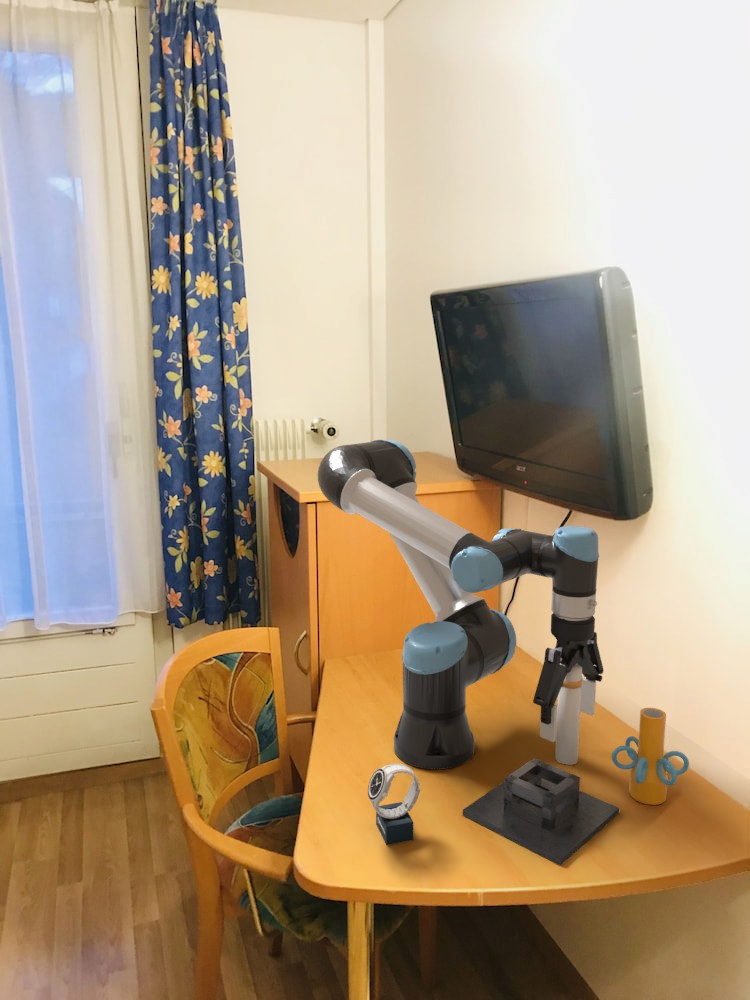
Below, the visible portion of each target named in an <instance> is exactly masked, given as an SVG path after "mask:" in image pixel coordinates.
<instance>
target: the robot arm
mask: <svg viewBox="0 0 750 1000" xmlns="http://www.w3.org/2000/svg"><path fill="white" fill-rule="evenodd" d="M416 469H417V464H416V461H415V458H414V456H413V454H412V452H411V451H410V450H409V449H408V448H407V447H406V446H405V445H404V444H402V443H400V442H398V441H396V440H392V439H391V440H390V439H386V440H385V439H377V440H376V439H375V440H371V441H370V442H369V441H368V442H359V443H353V444H351V443H350V444H344V445H339V446H336V447H334V448H332V449H331V450H329V451H328V452H327V453H326V454H325V455H324V457H323V458H322V460H321V461H320V462H319V466H318V470H317V482H318V486H319V489H320V491H321V492H322V494H323V496H324V497H325V498H326V499H327V501H328V502H330V504H332V505H334V506H335V507H336V508H337V509H339V510H341V511H343V512H344V513H346V514H348V515H355V514H358V515H360V516H361V517H363V518H364V519H366V520H368V521H369V522H371V523H372V524H374V525H376V526H378V527H380V528H381V529H383V530H384V531H386V532H388V533H389V535H390V536H391V539H392V541H393V543H394V545H395V546H396V548H397V549H398V552H399V553H400V555H401V556H402V559H403V560H404V562H405V563H406V565H407V567H408V569H409V570H410V572H411V574H412V576H413V578H414V579H415V581H416V583H417V585H418V587H419V588H420V590H421V592H422V594H423V596H424V597H425V599H426V600H427V603H428V604H429V606H430V608H431V610H432V612H433V614H434V615H435V619H434V621H433V622H429V621H428V622H425V623H422V624H419V625H417V626H415V627H414V628H412V629H411V630H409V631H408V633H407V634H406V635H405V637H404V640H403V649H402V653H401V656H402V659H401V660H402V693H403V694H402V699H403V700H402V701H403V702H402V703H403V705H402V706H403V707H402V712H401V716H400V717H399V721H398V723H397V727H396V730H395V732H394V735H393V752H394V753H395V755H396V756H397V757H398V758H399V760H401V761H402V762H404V763H406V764H408V765H410V766H413V767H416V768H421V769H426V770H446V769H451V768H452V769H453V768H456V767H460V766H461V765H464V764H466V763H467V762H469V761H470V760H471V759H472V758H473V756H474V754H475V737H474V734H473V732H472V731H471V727H470V724H469V720H468V717H467V716H468V715H467V711H466V701H467V699H466V697H467V695H466V694H467V692H466V691H467V687H469V686H471V685H473V684H475V683H478V682H479V681H480V680H483V679H484V678H486V677H488V676H489V675H493V674H495V673H497V672H499V671H500V670H501V669H503V667H506V666H507V665H508V663H510V662H511V660H512V659H513V657H514V655H515V652H516V647H517V635H516V631H515V628H514V626H513V624H512V621H511V620H510V619H509V617H508V616H507V615H505V614H504V612H499V611H498V610H496V609H490V606H489V605H488V603H487V601H486V600H485V598H484V597H480V596H478V595H475V594H474V593H479V592H485V591H488V590H492V589H494V588H496V587H498V586H500V585H502V584H504V583H507V582H509V581H512V580H515V579H517V578H519V577H523V576H524V575H529V574H530V575H535V576H540V577H544V578H551V579H552V591H551V609H550V610H551V612H552V614H551V615H550V616H551V617H550V618H551V619H550V633H551V635H552V636H553V637H554V638H555V639H556V644H555V647H554V648H550V647H546V649H545V650H544V651H545V653H544V661H543V665H542V668H541V672H540V675H539V678H538V681H537V682H538V683H537V686H536V688H535V689H536V690H535V693H534V695H533V701H532V703H533V704H534V705H537V706H540V723H539V724H540V725H539V726H540V728H539V729H540V731H539V737H540V738H543V739H545V740H548V741H550V742H552V743H555V742H556V730H557V706H558V705H556V702H557V700H558V694H559V692H560V689H561V687H562V685H563V682H564V680H565V677H566V675H567V673H570V672H571V669H572V667H573V666H574V665H575V664H578V665H580V666H581V667H582V676H583V677H582V678H583V680H582V686H581V703H580V713H584V714H587V715H589V716H592V717H593V716H594V715H595V709H596V691H597V682H602V680H603V675H602V674H603V673H604V665H603V662H602V659H601V658H602V657H601V654H600V650H599V645H598V633H597V632H596V631H595V627H596V626H595V622H596V618H595V613H596V606H597V605H598V602H597V599H596V598H597V597H596V595H597V577H598V569H599V568H598V565H599V557H600V553H599V534H598V533H597V532H596V531H595V530H594V529H592V528H590V527H585V526H575V525H564V526H559V527H557V528H556V529H555V531H554V535H549V534H545V533H544V534H543V533H540V532H535V531H527V530H525V529H522V528H507V527H506V528H505V527H504V528H502V529H500V530H498V531H497V534H495V535H494V536H493V538H492V540H491V541H490V540H489V541H488V540H485V539H484V538H482V537H480V536H478V535H476V534H475V533H472V532H470V531H469V530H467V529H465V528H464V527H462V526H460V525H459V524H457V523H455V522H453V521H451V520H450V519H447V518H446V517H444V516H442V515H441V514H439V513H437V512H436V511H434V510H431V509H430V508H428V507H426V505H425V506H424V505H423V504H421V503H420V502H419V500H418V498H417V497H416V492H417V490H418V484H417V482H416V478H417V471H416Z"/></svg>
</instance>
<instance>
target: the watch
mask: <svg viewBox="0 0 750 1000" xmlns="http://www.w3.org/2000/svg"><path fill="white" fill-rule="evenodd" d="M397 774H407V775H410V776H412V778H413V779H412V781H411V784H410V787H409V790H408V792H407V794H406V795H405V797H404V798H403V802H402V801H400V802H394V803H389V804H383V805H380V804H381V802H383V801H384V800H385V799H386V798H387V797H388V796H389V792H390V790H391V786H392V781H393V780H394V778H396V777H395V776H396V775H397ZM420 787H421V786H420V780H419V779H418V778H417V776H416V773H414V771H413V769H412V768H410V767H409V766H407V765H406V764H402V763H390V764H386V765H384V766H383V767H380V768H377V769H376V770H374V772H373V773H372V775H371V777H370V779H369V782H368V786H367V797H368V799H369V801H370V803H371V805H372V807H373V809H374V811H375V825H376V827H377V829H378V831H379V833H380V835H381V837H382V839H383V841H384V843H385V845H386V846H390V845H394V844H395V845H396V844H401V843H405V842H408V841H409V842H410V841H414V821H413V818H412V817H411V815H410V813H409V812H411V810H412V809H413V808H414V806H415V804H416V803H417V802H418V801H417V800H418V798H419V795H420V792H421V789H420Z"/></svg>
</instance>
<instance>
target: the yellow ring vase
mask: <svg viewBox="0 0 750 1000" xmlns="http://www.w3.org/2000/svg"><path fill="white" fill-rule="evenodd" d="M666 720H667V714H666V712H665V711H663V710H661V709H659V708H656V707H655V708H654V707H644V708H641V709H640V713H639V725H638V727H639V728H638V729H639V730H638V738H637V737H636V736H633V735H630V736H628V737H627V738H626V739H625V745H621V746H617V747H616V748H615V749H613V752H612V755H611V760H612V763H613V764H614V765H615V766H616V767H617V768H618V769H621V770H625V771H626V770H628V771H629V770H630V771H629V772H630V773H629V785H628V786H629V788H628V792H629V796H630V797H631V798H632V799H634V801H637V802H638V803H641V804H644V805H649V806H657V805H661V804H663V803H665V802H666V800H667V796H668V795H667V794H668V786H669V787H670V786H674V785H675V784H676V782H677V778H678V777H677V776H680V775H683V774H685V773H686V772H687V771H688V769H689V767H690V761H689V758H688V756H687V755H686V754H685V753H683V752H681V751H678V750H671V751H668V752H666V753H665V754H664V749H665V738H666V737H665V736H666V735H665V733H666V724H667V723H666ZM631 742H634V743H635V745H636V747H637V751H636V750H635V749H634V748H633V747H631ZM623 751H626V753H627V756H628V757H629V759H631V760H632V761H631V762H630V763H629V764H622V763H621V762H619V760H618V759H617V757H618V755H619V753H621V752H623ZM671 757H679V758H681V759H682V760H683V765H682V767H681V768H680V769H676V768H675V765H674V764H673V763H672V762H671V761H670V760H669V759H670V758H671ZM668 774H670V775H671V778H670V780H669V775H668Z"/></svg>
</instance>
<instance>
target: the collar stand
mask: <svg viewBox="0 0 750 1000" xmlns="http://www.w3.org/2000/svg"><path fill="white" fill-rule="evenodd" d="M580 784H581V777H580V776H578V775H576V774H574V773H571V772H569V771H566V770H563V769H561V768H559V767H556V766H554V765H552V764H549V763H547V762H544V761H542V760H540V759H538V758H534V757H533V758H532V759H530V760H529V761H528V762H526V763H525V764H524V765H521V767H519V768H518V769H516V770H514V771H513V772H512V773H510V774H509V775H507V776H506V777H504V781H503V782H501V783H499V784H497V786H495V787H494V788H493V789H491V790H490V791H488V792H487V793H485V794H484V795H482V796H481V797H479V798H478V799H476V800H475V801H473V802H472V803H470V804H468V805H467V806H466V807H464V808H463V809H462V816H463V817H466V818H467V819H470V820H471V821H473V822H474V823H477V824H479V825H481V826H483V827H484V828H487V829H488V830H490V831H493V832H495V833H496V834H498V835H500V836H502V837H504V838H506V839H508V840H510V841H512V842H514V843H516V844H518V845H519V846H522V847H523V848H525V849H527V850H529V851H530V852H533V853H535V854H537V855H539V856H541V857H543V858H545V859H547V860H548V861H551V862H552V863H554V864H557V865H558V866H562V865H563V864H564V863H565V862H567V861H568V859H570V858H571V857H572V856H573V855H575V853H577V852H578V851H579V850H580V849H581V848H582V847H583V846H585V844H587V843H588V842H589V841H590V840H591V839H592V838H594V837H595V835H597V834H598V833H599V832H600V831H601V830H602V829H603V828H605V827H606V826H607V825H608V824H609V823H610V822H611V821H612V820H614V819H615V818H616V817H617V816H618V815H619V814H620V807H618V806H616V805H614V804H612V803H609V802H607V801H605V800H602V799H601V798H597V797H596V796H593V795H591V794H589V793H586V792H584V791H582V790H581V789H580V788H581V787H580V786H581V785H580ZM615 816H616V817H615ZM606 824H607V825H606ZM605 825H606V826H605Z"/></svg>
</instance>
